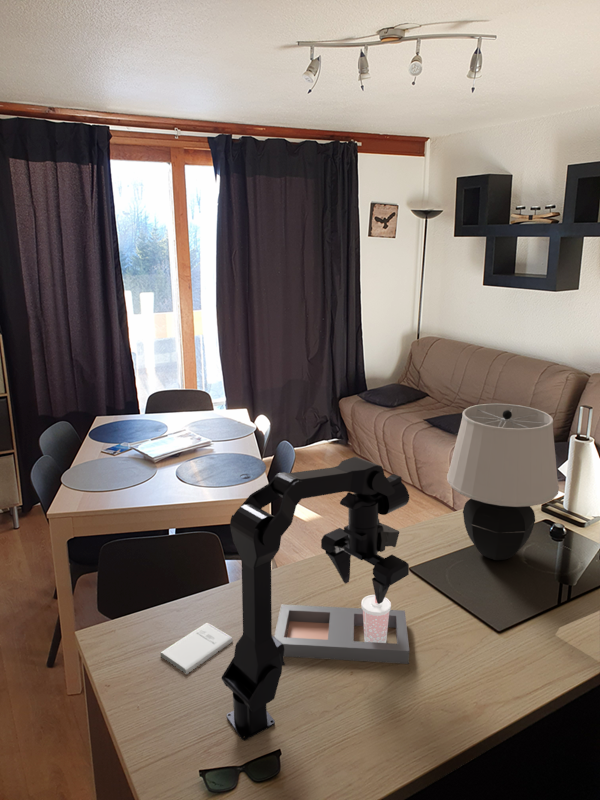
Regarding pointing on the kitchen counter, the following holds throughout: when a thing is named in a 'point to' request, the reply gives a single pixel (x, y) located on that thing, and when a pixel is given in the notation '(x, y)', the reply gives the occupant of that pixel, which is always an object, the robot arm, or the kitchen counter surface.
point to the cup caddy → (337, 634)
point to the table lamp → (503, 474)
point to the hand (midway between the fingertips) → (362, 592)
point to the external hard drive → (196, 647)
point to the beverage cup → (375, 619)
